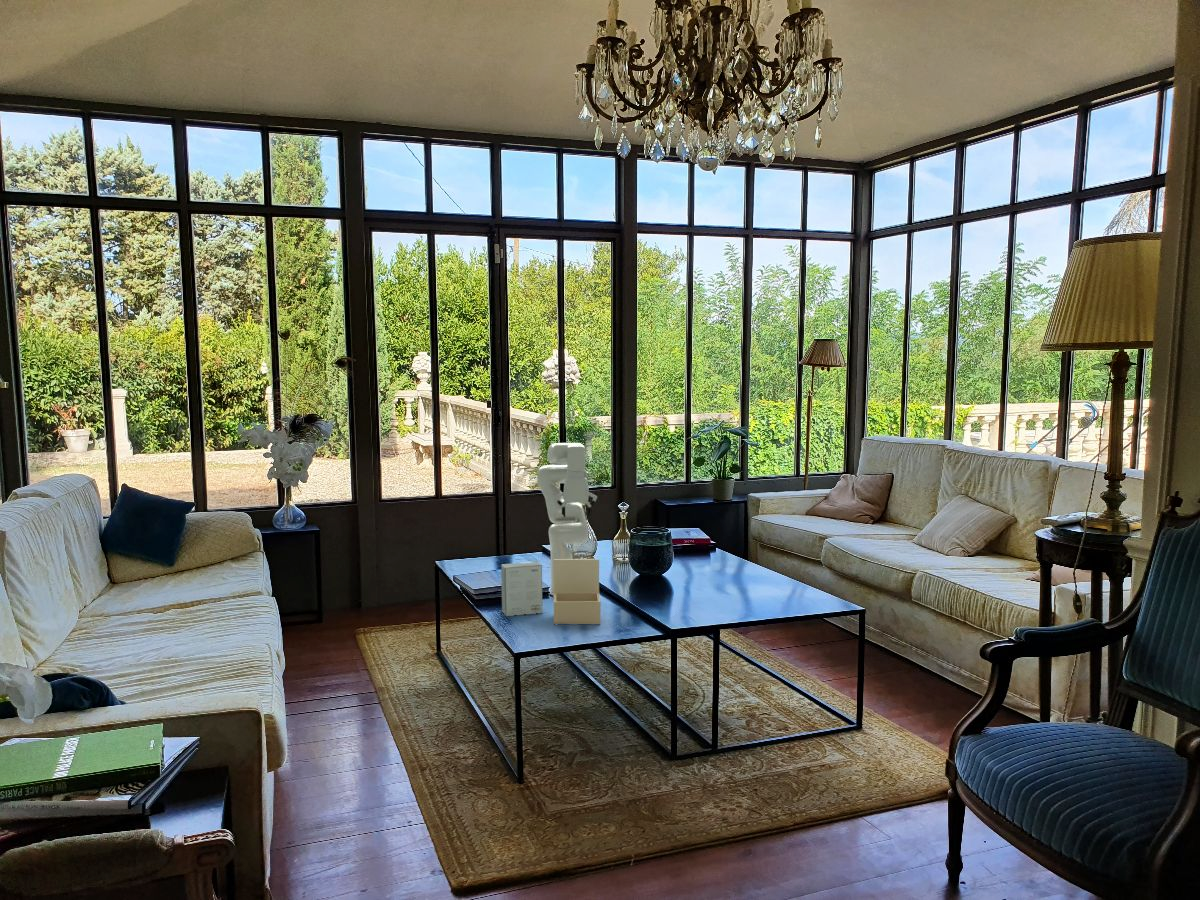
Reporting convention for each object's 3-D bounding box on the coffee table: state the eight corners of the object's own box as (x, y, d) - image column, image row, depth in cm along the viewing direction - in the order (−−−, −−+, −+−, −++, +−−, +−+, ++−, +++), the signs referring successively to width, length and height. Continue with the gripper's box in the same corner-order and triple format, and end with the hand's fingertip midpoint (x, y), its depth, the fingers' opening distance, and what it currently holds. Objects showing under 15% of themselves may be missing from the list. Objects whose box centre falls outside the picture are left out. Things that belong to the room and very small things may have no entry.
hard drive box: (538, 608, 349) (538, 561, 347) (543, 613, 342) (542, 565, 340) (501, 611, 344) (500, 563, 342) (505, 616, 337) (504, 567, 335)
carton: (554, 615, 339) (554, 593, 339) (598, 614, 340) (599, 592, 340) (553, 625, 326) (553, 602, 325) (600, 624, 326) (600, 601, 326)
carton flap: (554, 593, 339) (554, 586, 346) (599, 592, 340) (598, 585, 347) (553, 559, 336) (554, 553, 343) (599, 559, 337) (598, 552, 344)
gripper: (597, 474, 349) (596, 515, 351) (555, 474, 349) (555, 515, 350) (597, 476, 342) (597, 518, 343) (554, 476, 341) (554, 518, 343)
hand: (576, 516), depth 347 cm, fingers open, 9 cm apart
